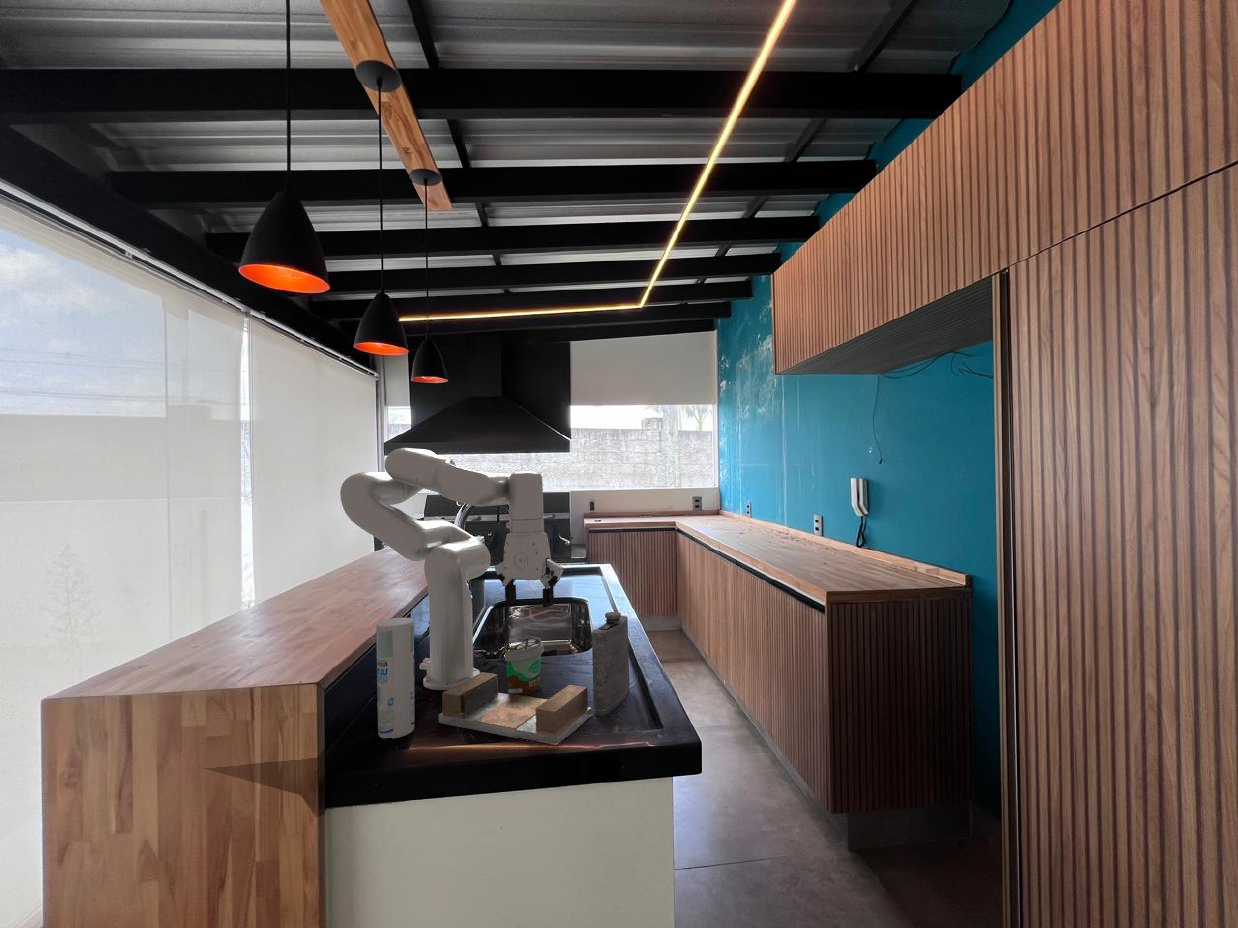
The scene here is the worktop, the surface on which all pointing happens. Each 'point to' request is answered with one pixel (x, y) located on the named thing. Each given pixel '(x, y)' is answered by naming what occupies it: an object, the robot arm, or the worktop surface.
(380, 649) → the spray can
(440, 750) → the worktop surface
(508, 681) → the food container
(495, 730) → the wooden u-shaped base
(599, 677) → the flask
